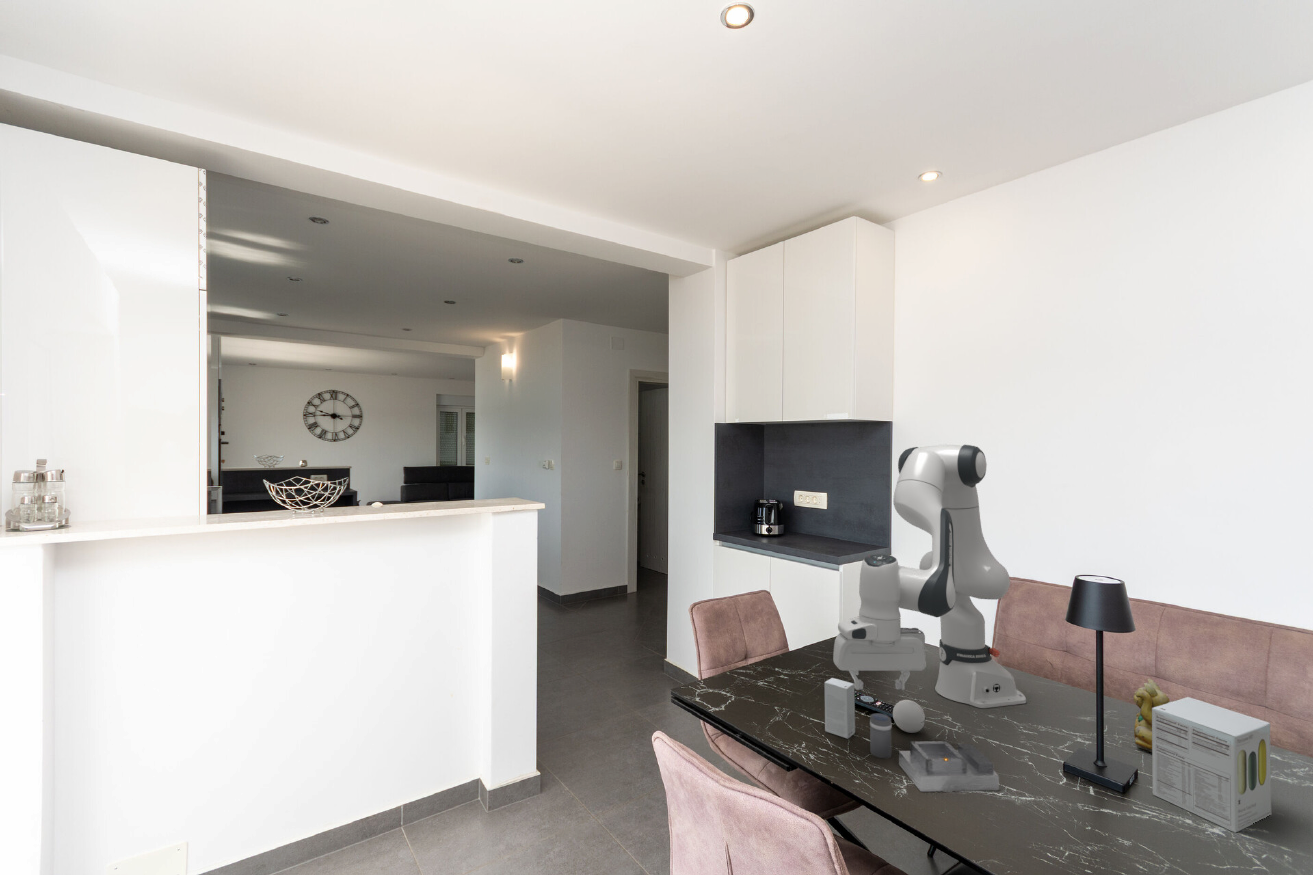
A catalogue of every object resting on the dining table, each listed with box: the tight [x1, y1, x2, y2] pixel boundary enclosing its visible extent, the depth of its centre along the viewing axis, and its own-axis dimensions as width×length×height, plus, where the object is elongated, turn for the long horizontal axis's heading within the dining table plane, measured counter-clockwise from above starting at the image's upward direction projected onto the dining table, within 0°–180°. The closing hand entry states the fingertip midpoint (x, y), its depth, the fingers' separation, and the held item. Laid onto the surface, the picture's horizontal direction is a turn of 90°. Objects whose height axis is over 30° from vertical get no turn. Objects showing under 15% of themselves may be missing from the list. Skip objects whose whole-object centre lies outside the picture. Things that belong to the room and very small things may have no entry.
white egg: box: [892, 699, 927, 734], centre depth 146 cm, size 10×7×7 cm
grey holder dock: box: [898, 740, 1000, 793], centre depth 125 cm, size 16×10×6 cm, turn 91°
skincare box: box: [824, 677, 856, 739], centre depth 144 cm, size 6×4×12 cm
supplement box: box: [1151, 696, 1272, 834], centre depth 115 cm, size 13×13×18 cm
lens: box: [869, 712, 892, 759], centre depth 134 cm, size 5×5×8 cm
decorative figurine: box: [1133, 678, 1171, 753], centre depth 136 cm, size 10×8×15 cm
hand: (879, 688), depth 134 cm, fingers open, 8 cm apart
